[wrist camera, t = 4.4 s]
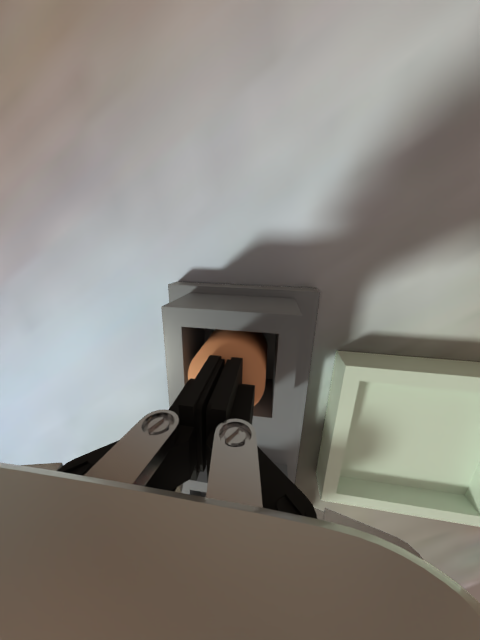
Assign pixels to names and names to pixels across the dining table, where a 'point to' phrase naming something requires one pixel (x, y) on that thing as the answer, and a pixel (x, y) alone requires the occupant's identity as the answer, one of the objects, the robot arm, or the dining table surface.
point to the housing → (282, 354)
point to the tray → (403, 436)
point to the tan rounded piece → (240, 346)
